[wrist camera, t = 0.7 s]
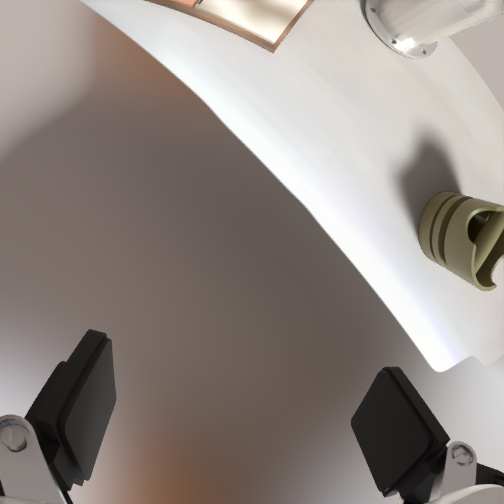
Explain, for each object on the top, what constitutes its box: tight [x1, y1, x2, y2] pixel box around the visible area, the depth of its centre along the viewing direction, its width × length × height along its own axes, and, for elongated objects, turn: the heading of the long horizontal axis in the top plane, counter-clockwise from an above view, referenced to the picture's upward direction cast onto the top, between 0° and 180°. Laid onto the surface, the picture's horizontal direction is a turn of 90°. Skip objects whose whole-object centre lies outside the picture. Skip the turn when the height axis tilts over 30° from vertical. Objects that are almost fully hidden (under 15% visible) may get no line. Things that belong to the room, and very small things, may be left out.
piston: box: [419, 192, 504, 291], centre depth 33 cm, size 11×12×11 cm
